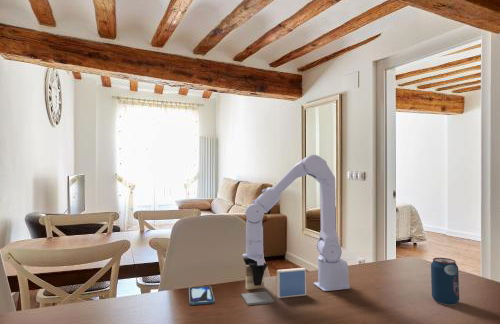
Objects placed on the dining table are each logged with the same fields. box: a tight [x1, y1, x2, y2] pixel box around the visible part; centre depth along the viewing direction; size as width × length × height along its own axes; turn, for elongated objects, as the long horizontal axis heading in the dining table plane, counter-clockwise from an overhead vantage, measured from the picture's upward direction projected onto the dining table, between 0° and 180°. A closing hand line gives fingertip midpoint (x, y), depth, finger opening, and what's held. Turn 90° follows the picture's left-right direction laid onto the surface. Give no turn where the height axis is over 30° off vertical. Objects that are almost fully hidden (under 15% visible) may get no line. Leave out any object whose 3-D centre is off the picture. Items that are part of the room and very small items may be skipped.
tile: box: [276, 267, 307, 299], centre depth 104 cm, size 9×2×8 cm, turn 105°
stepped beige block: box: [244, 264, 265, 290], centre depth 111 cm, size 6×2×8 cm, turn 105°
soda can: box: [430, 257, 460, 306], centre depth 98 cm, size 7×7×12 cm
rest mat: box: [240, 291, 275, 306], centre depth 101 cm, size 8×8×1 cm
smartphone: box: [188, 285, 215, 306], centre depth 104 cm, size 7×1×15 cm
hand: (254, 281), depth 111 cm, fingers open, 6 cm apart
